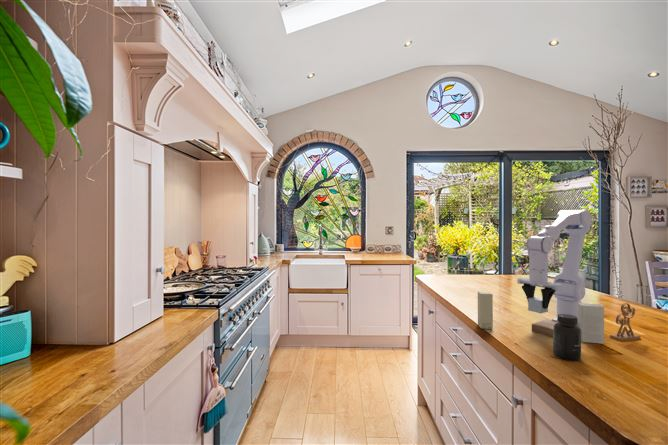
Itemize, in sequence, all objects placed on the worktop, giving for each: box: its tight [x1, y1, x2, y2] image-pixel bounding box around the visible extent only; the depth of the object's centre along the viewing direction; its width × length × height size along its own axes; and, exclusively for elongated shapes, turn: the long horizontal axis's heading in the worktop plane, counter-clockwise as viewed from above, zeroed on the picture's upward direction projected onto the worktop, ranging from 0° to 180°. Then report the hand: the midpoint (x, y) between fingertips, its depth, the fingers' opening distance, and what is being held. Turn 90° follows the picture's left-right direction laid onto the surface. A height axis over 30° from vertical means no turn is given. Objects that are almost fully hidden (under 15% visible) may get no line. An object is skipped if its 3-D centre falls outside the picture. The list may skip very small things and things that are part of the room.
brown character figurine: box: [609, 302, 641, 342], centre depth 113 cm, size 9×4×12 cm, turn 105°
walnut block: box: [531, 319, 558, 338], centre depth 119 cm, size 10×10×3 cm
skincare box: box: [577, 302, 605, 345], centre depth 111 cm, size 6×4×12 cm
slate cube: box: [527, 296, 549, 314], centre depth 122 cm, size 4×4×4 cm
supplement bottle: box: [552, 314, 582, 362], centre depth 98 cm, size 7×7×12 cm
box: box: [477, 290, 494, 330], centre depth 124 cm, size 5×4×13 cm
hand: (538, 306), depth 122 cm, fingers closed on slate cube, 4 cm apart
